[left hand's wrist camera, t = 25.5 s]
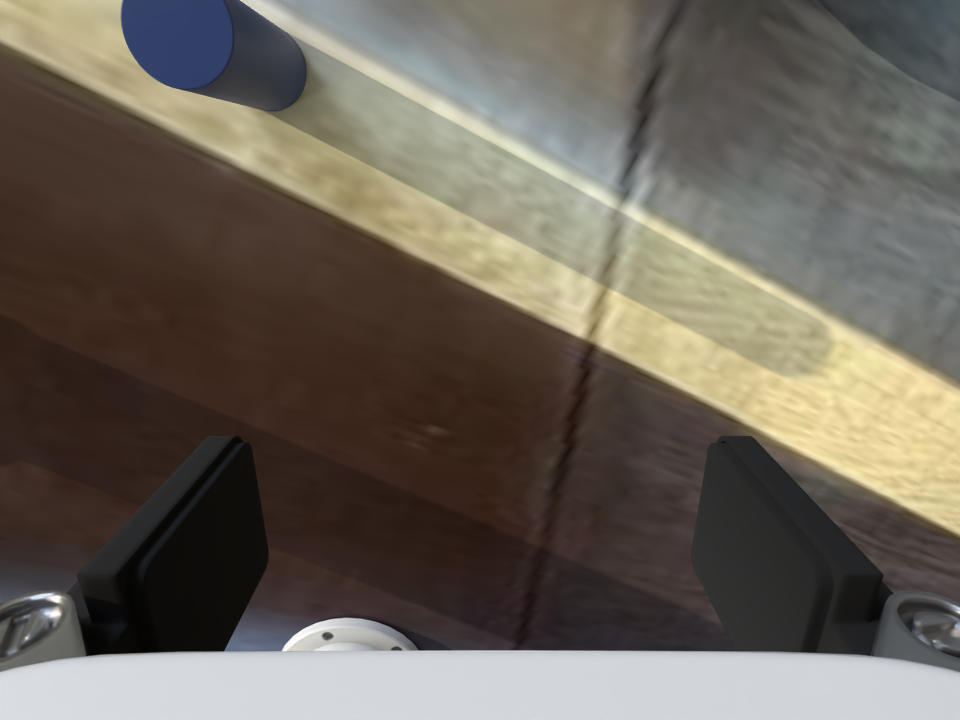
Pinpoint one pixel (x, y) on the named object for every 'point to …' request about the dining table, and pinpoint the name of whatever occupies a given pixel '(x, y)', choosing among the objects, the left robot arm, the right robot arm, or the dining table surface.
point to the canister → (215, 50)
